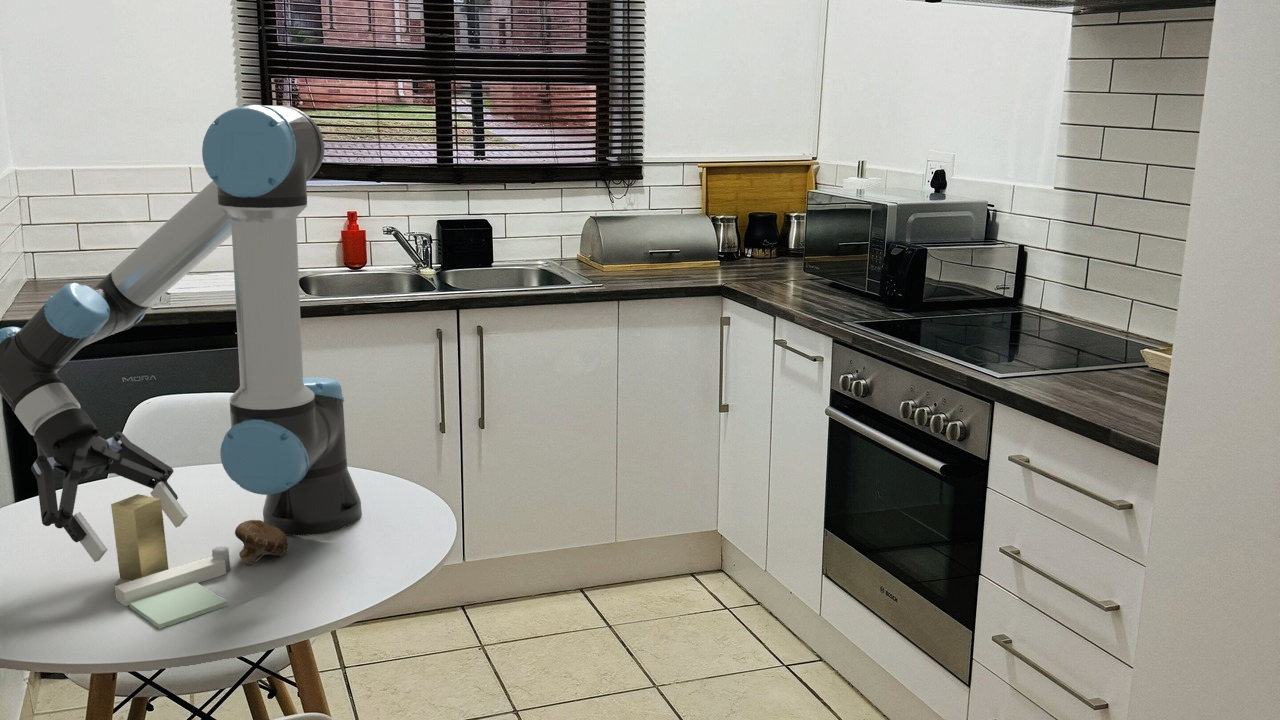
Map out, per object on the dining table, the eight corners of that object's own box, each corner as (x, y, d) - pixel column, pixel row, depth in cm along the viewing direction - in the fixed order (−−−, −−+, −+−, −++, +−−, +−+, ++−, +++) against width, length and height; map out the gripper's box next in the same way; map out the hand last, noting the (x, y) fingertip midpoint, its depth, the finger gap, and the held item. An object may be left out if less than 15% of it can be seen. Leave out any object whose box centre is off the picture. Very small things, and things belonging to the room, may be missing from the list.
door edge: (224, 565, 158) (222, 544, 157) (234, 571, 156) (232, 550, 155) (116, 599, 147) (113, 577, 147) (125, 606, 145) (123, 584, 145)
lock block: (146, 566, 158) (138, 494, 156) (168, 571, 156) (160, 498, 154) (120, 578, 154) (110, 504, 152) (142, 583, 152) (133, 509, 150)
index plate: (195, 585, 151) (195, 581, 151) (227, 605, 146) (226, 601, 145) (130, 607, 145) (129, 603, 145) (159, 628, 139) (159, 624, 139)
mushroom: (224, 553, 154) (244, 512, 156) (223, 554, 162) (242, 514, 164) (278, 574, 156) (297, 533, 158) (274, 574, 164) (293, 535, 166)
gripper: (120, 416, 169) (201, 522, 166) (-37, 462, 147) (52, 586, 144) (141, 386, 165) (223, 494, 163) (-17, 429, 144) (74, 556, 141)
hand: (143, 538), depth 153 cm, fingers open, 13 cm apart
